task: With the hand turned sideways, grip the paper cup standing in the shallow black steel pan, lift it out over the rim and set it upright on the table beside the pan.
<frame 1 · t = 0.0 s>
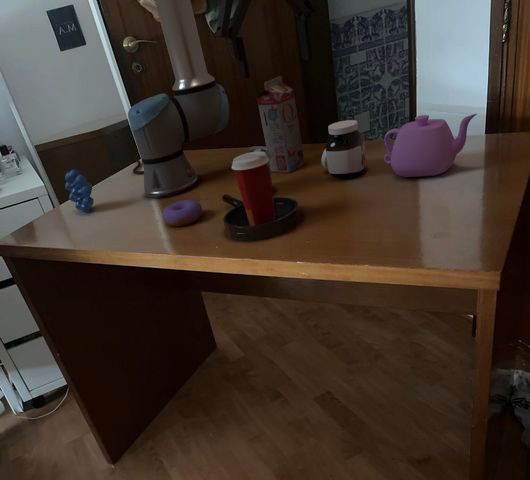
hand: (276, 68, 100), 28 cm above the table, tool pointing down, fingers open, 13 cm apart
teapot: (428, 171, 119), on the table
paper cup: (263, 224, 112), resting on pan
grapes: (90, 211, 148), on the table
pan: (263, 224, 113), on the table
spread jar: (343, 173, 130), on the table
donut: (184, 221, 125), on the table
juice carton: (288, 168, 144), on the table
food container: (265, 194, 130), on the table
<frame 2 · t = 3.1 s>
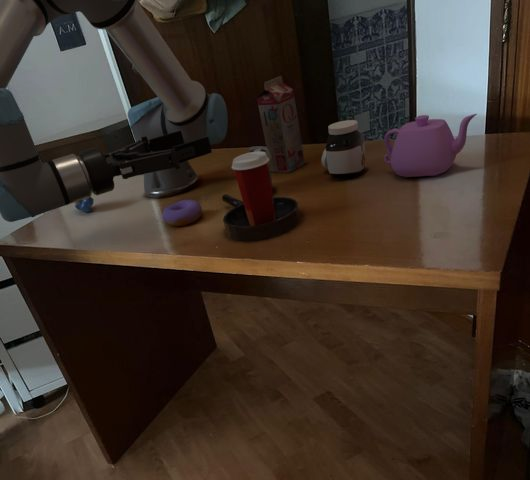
hand: (195, 140, 99), 20 cm above the table, tool horizontal, fingers open, 13 cm apart
nothing on the table moved.
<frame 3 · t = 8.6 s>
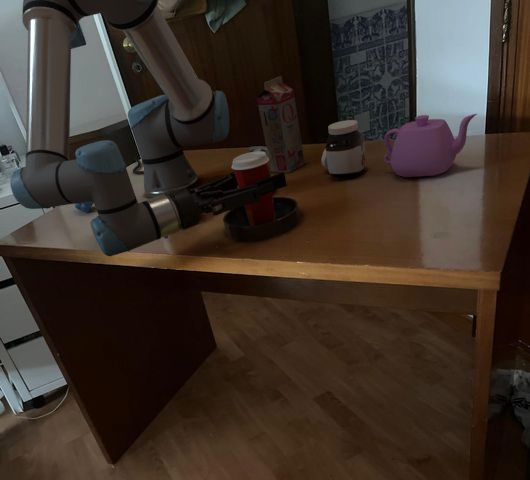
hand: (274, 175, 109), 9 cm above the table, tool horizontal, fingers closed on paper cup, 8 cm apart
paper cup: (263, 224, 112), resting on pan, touching gripper
everything else where it was.
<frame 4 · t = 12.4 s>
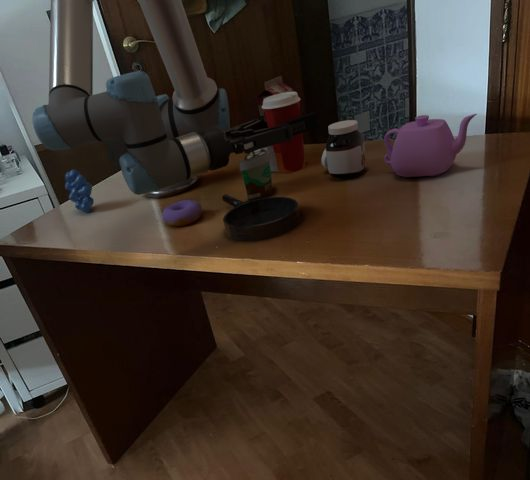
hand: (305, 118, 106), 18 cm above the table, tool horizontal, fingers closed on paper cup, 8 cm apart
paper cup: (292, 169, 110), point 9 cm above the table, touching gripper
everything else where it was.
when the fingers open (9 cm above the table, at t = 16.3 s): paper cup stays where it is, on the table.
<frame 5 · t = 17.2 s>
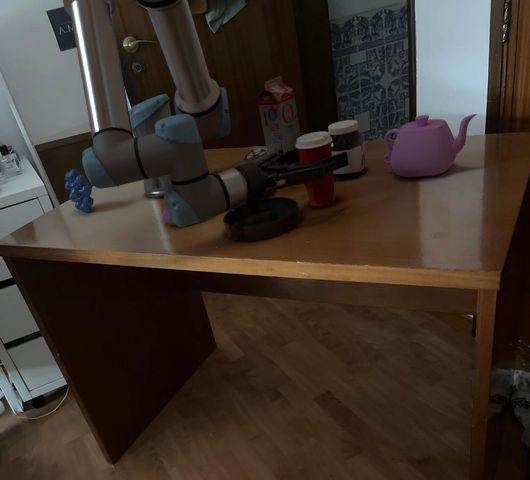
hand: (328, 153, 113), 9 cm above the table, tool horizontal, fingers open, 13 cm apart
paper cup: (322, 202, 117), on the table
everything else where it was.
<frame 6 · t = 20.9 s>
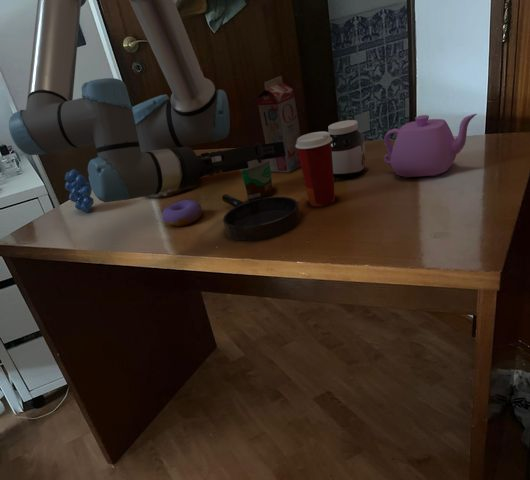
hand: (264, 155, 110), 12 cm above the table, tool horizontal, fingers open, 13 cm apart
nothing on the table moved.
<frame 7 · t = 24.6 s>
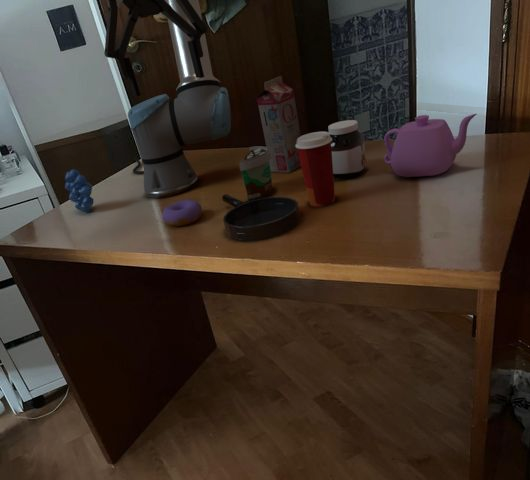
hand: (169, 86, 105), 29 cm above the table, tool pointing down, fingers open, 13 cm apart
nothing on the table moved.
at the end: paper cup inside the target area (0.3 cm from its centre), on the table; paper cup tilted 0°; paper cup touching table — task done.
